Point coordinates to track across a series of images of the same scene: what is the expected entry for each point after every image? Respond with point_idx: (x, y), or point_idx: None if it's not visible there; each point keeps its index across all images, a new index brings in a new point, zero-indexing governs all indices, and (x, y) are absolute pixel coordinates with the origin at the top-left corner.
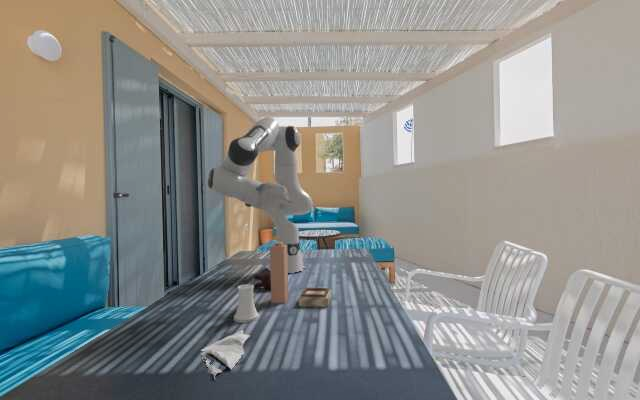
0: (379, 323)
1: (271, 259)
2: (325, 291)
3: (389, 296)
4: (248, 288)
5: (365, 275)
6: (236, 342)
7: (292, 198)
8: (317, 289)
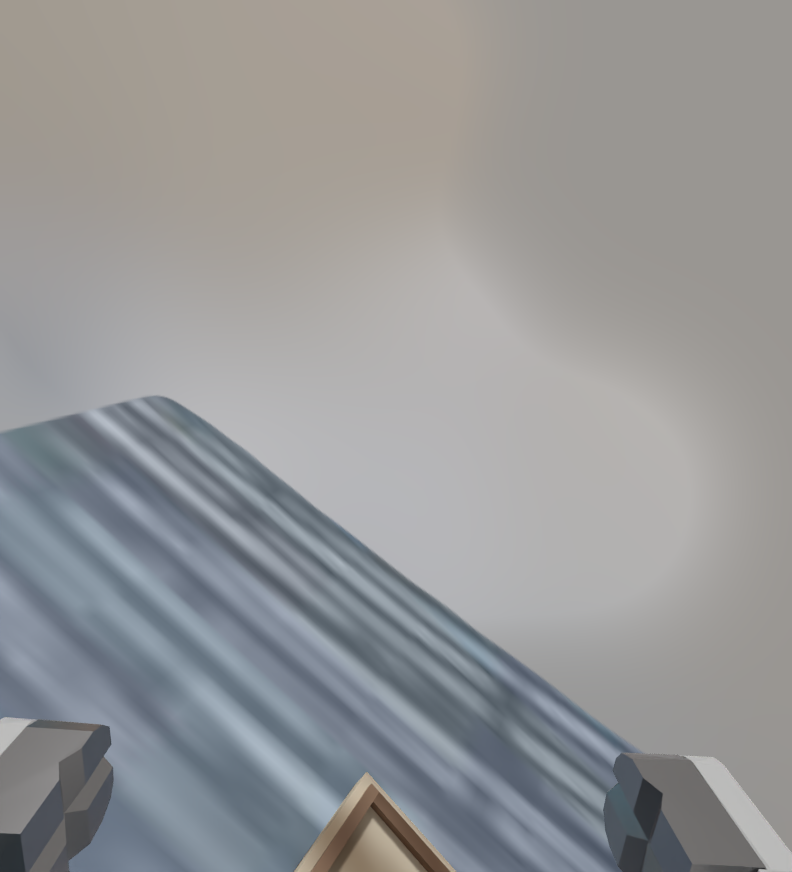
0: None
1: None
2: (412, 844)
3: (441, 608)
4: None
5: (208, 472)
6: None
7: (720, 798)
8: (341, 847)
